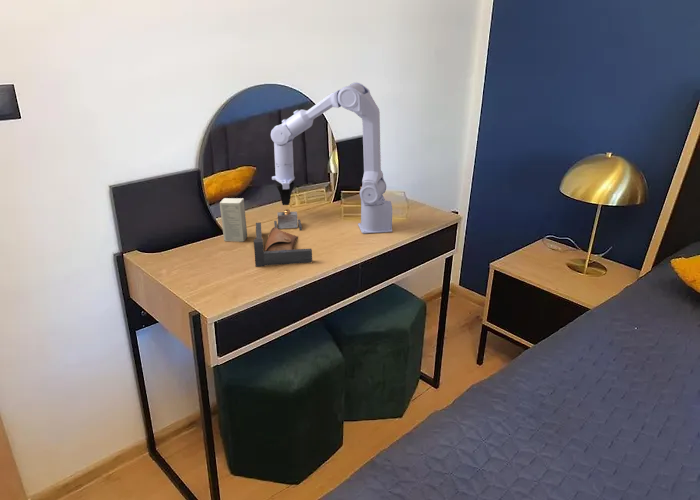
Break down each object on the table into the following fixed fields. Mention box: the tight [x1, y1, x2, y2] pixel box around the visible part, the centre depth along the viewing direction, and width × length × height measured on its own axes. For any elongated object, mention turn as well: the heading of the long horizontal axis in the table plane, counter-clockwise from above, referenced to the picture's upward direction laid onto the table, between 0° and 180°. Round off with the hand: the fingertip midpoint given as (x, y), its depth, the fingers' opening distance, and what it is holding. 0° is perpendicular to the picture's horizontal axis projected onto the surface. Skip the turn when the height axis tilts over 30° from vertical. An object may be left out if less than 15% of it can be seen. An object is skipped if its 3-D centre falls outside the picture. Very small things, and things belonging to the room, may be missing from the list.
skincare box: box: [219, 197, 248, 242], centre depth 167 cm, size 6×4×12 cm
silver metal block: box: [277, 209, 299, 230], centre depth 177 cm, size 6×3×5 cm, turn 99°
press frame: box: [253, 219, 313, 268], centre depth 165 cm, size 15×31×7 cm, turn 9°
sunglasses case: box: [264, 226, 299, 251], centre depth 163 cm, size 18×7×7 cm
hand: (285, 204), depth 182 cm, fingers closed
